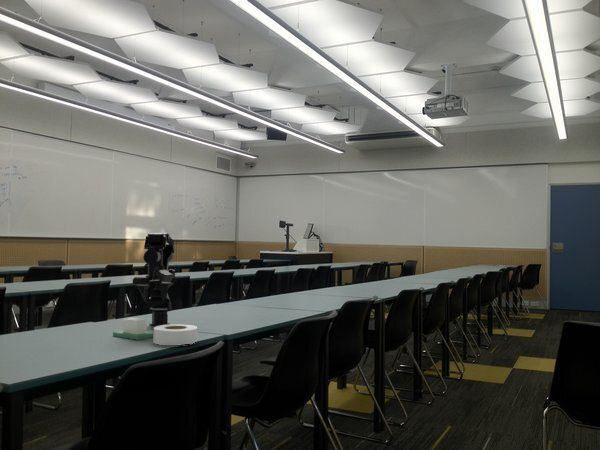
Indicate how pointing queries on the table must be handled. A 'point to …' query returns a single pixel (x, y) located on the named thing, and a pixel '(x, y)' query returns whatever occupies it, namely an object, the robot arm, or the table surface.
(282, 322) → the table surface
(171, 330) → the roll of tape
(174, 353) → the table surface
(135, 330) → the block
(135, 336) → the header board
